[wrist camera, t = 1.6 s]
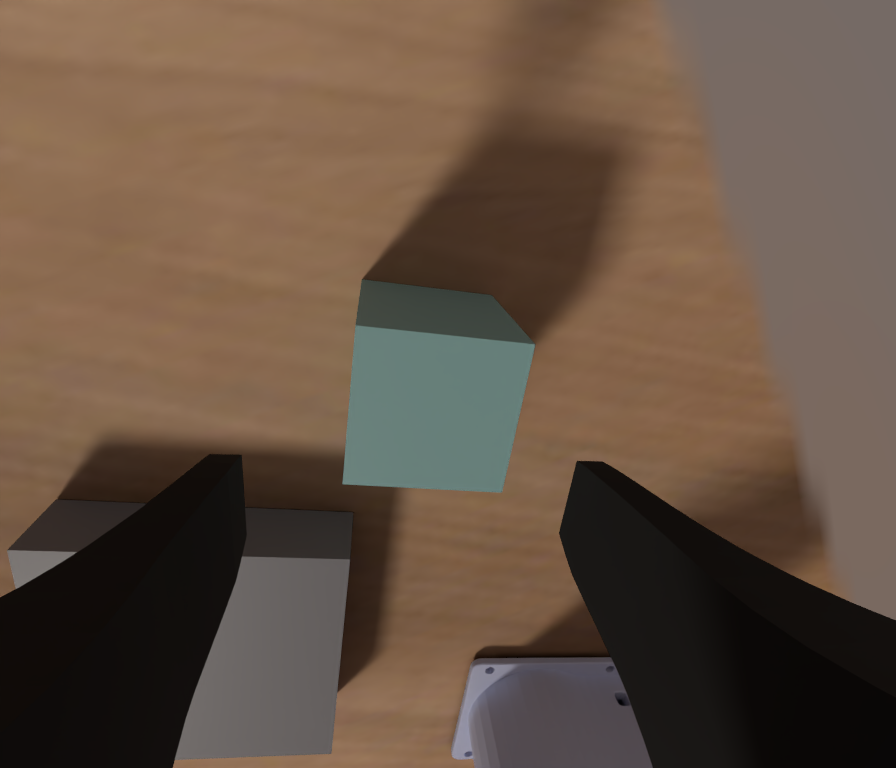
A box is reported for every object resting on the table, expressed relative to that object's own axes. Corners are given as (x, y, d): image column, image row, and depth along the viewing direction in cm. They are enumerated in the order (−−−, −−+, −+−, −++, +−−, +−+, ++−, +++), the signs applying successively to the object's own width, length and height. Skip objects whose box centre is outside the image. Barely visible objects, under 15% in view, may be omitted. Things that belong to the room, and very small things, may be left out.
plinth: (353, 512, 23) (350, 559, 20) (336, 694, 27) (331, 753, 24) (55, 499, 21) (7, 550, 18) (90, 699, 25) (55, 764, 22)
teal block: (491, 294, 20) (535, 344, 14) (470, 409, 22) (502, 492, 16) (361, 279, 19) (355, 325, 13) (351, 400, 21) (342, 484, 15)
